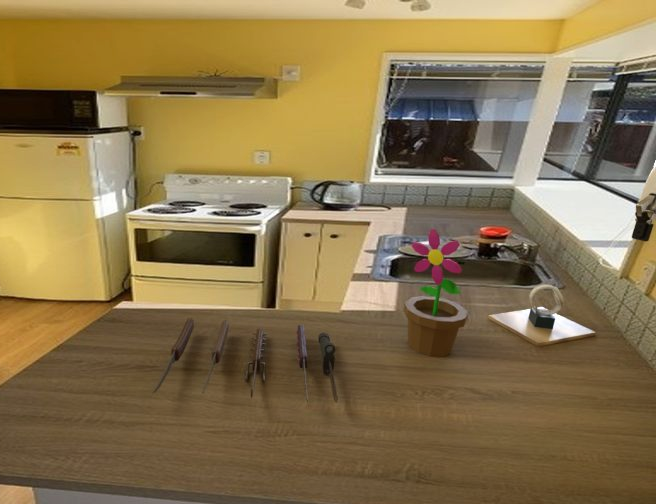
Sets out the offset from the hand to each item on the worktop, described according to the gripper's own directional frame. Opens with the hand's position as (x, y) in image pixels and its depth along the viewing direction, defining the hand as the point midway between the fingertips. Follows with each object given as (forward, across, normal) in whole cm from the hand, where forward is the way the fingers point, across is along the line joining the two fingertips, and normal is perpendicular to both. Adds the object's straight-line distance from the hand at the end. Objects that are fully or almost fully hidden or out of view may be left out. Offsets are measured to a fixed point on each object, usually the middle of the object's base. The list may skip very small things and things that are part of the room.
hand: (654, 238), depth 97 cm
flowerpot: (+28, +46, -14) cm, 56 cm away
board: (+28, +10, -14) cm, 33 cm away
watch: (+28, +10, -14) cm, 32 cm away
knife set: (+28, +91, -15) cm, 97 cm away
